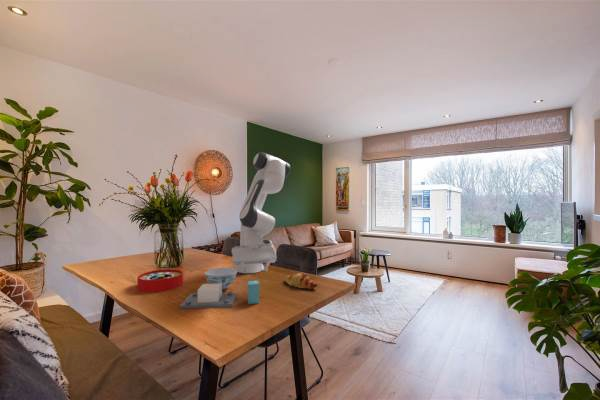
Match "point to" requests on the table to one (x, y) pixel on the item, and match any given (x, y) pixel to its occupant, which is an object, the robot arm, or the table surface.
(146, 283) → the toy clock
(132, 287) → the table surface
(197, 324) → the table surface
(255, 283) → the teal brick
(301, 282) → the croissant
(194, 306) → the stack base
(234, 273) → the chinaware
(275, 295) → the table surface
